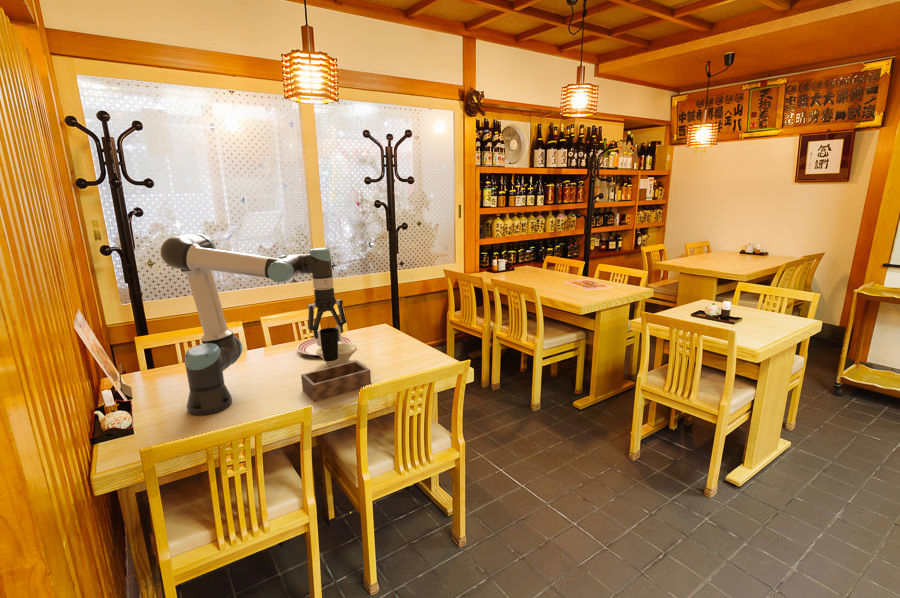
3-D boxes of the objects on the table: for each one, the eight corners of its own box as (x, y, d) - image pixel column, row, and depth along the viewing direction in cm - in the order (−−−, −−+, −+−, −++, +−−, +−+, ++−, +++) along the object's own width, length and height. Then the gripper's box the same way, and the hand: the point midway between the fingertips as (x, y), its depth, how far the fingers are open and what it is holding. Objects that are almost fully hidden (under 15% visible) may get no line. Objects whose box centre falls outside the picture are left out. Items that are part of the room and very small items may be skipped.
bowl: (324, 378, 206) (308, 354, 210) (356, 364, 218) (341, 341, 223) (332, 362, 197) (315, 337, 201) (365, 348, 209) (348, 325, 214)
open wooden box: (314, 402, 173) (312, 385, 171) (302, 390, 183) (301, 374, 182) (371, 385, 187) (370, 369, 185) (357, 375, 197) (356, 360, 196)
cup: (335, 362, 176) (332, 333, 173) (317, 361, 178) (314, 333, 175) (343, 355, 183) (341, 327, 181) (327, 354, 185) (324, 327, 182)
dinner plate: (345, 359, 217) (345, 353, 216) (289, 359, 218) (288, 353, 217) (357, 340, 244) (357, 335, 243) (307, 341, 244) (307, 335, 244)
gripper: (300, 293, 165) (307, 351, 170) (352, 285, 177) (357, 340, 182) (294, 290, 171) (301, 346, 176) (344, 282, 183) (349, 335, 188)
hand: (329, 343), depth 179 cm, fingers closed on cup, 8 cm apart
